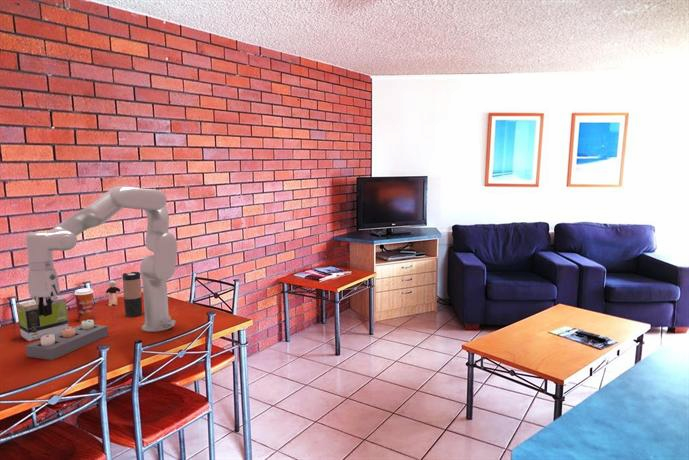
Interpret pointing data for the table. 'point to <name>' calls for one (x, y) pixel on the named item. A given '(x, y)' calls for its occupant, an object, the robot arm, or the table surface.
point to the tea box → (41, 319)
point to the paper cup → (84, 303)
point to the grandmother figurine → (112, 293)
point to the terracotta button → (68, 332)
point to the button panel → (66, 343)
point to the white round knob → (47, 340)
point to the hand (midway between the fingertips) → (45, 314)
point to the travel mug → (132, 294)
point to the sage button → (87, 325)
